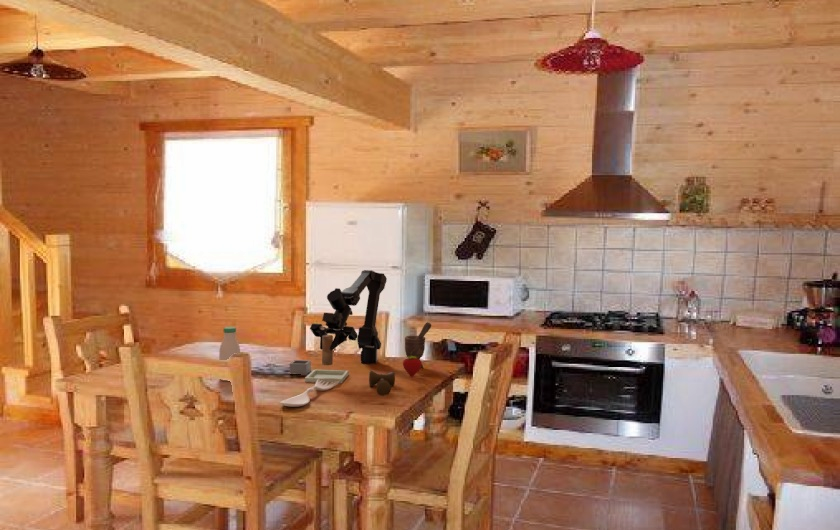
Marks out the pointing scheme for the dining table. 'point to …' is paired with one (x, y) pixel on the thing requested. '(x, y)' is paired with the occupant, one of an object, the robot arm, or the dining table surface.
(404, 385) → the dining table surface
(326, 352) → the walnut dowel
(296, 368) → the stoneware holder
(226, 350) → the milk bottle
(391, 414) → the dining table surface
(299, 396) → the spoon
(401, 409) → the dining table surface
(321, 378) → the sage tray
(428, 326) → the mortar and pestle
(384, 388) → the kendama
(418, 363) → the strawberry
